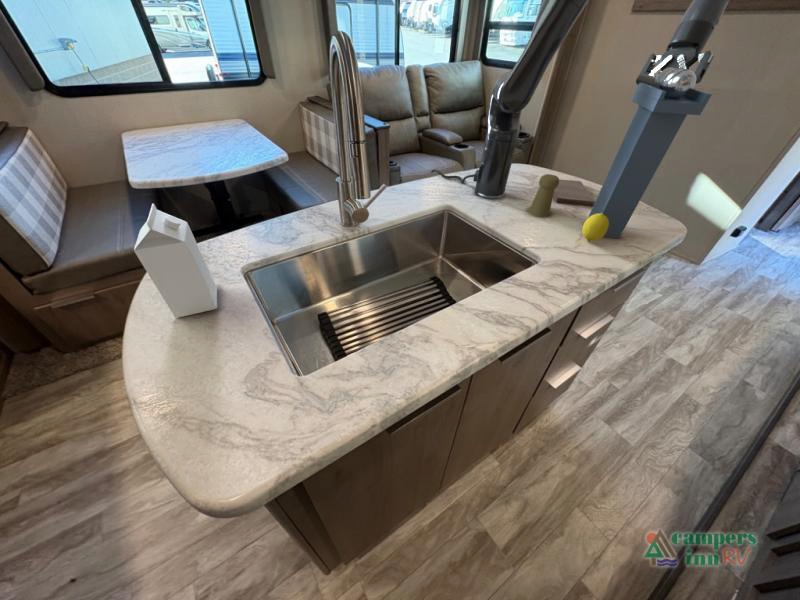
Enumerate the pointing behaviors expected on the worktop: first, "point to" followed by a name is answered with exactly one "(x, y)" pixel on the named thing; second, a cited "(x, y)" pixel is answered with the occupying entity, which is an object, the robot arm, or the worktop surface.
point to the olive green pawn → (544, 196)
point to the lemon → (595, 227)
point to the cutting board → (572, 193)
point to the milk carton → (175, 264)
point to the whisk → (671, 81)
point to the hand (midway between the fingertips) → (655, 100)
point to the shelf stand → (643, 151)
